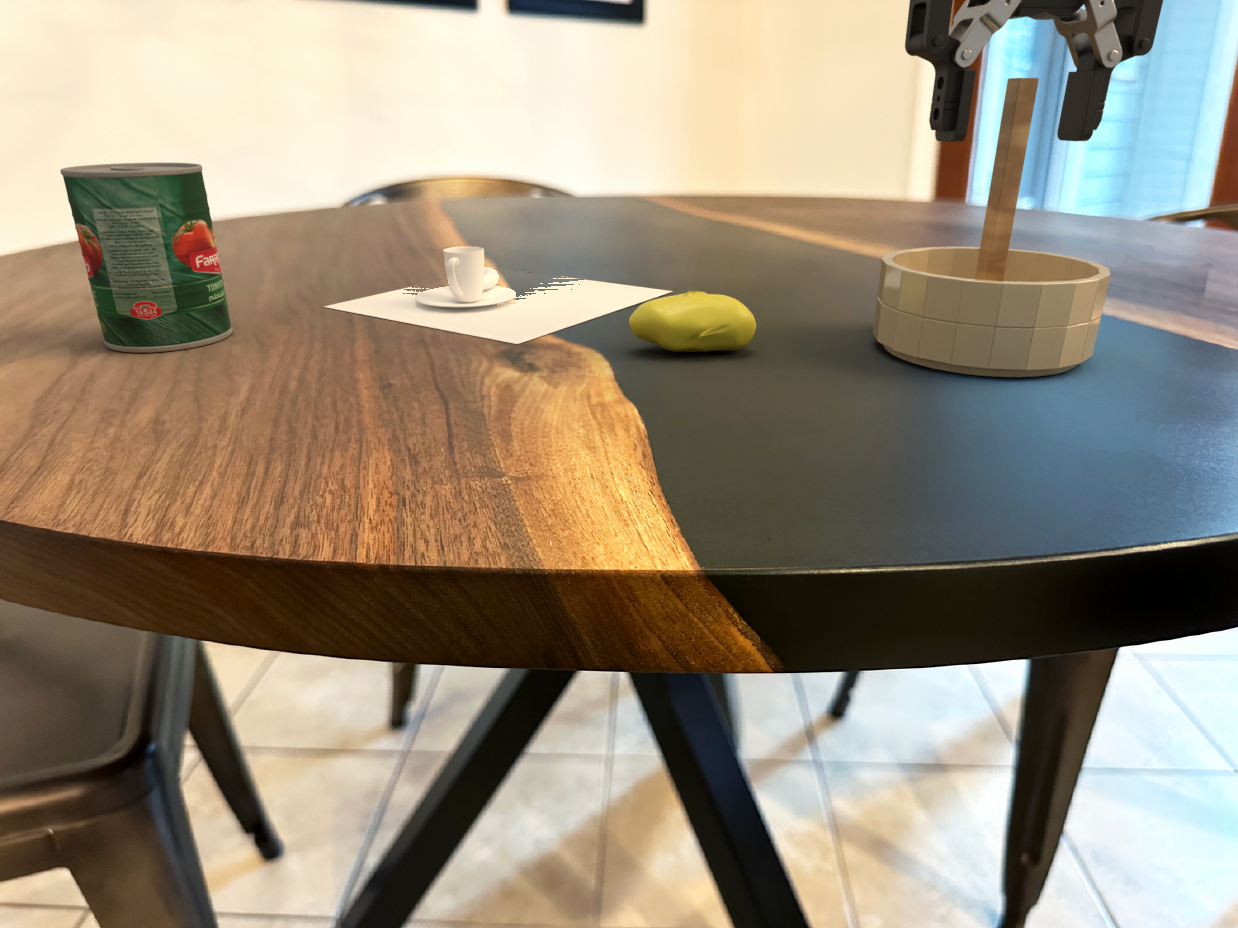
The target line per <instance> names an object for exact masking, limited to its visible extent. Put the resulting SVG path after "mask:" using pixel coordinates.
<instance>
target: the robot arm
mask: <svg viewBox="0 0 1238 928" xmlns="http://www.w3.org/2000/svg"><path fill="white" fill-rule="evenodd" d="M953 4H954V0H909V5H908V14H907V22H906V31H905V41H904V49H905V52H906V53H907V54H908V55H909V56H911V57H918V58H920V59H922V60H925V61H927V62H928V63H930V64H931V66H932V67H933V68H934V80H933V81H934V82H933V89H932V97H931V104H930V112H929V119H928V121H929V122H928V123H929V126H930V130H931V131H935V132H934V137H935V140H936V141H937V142H944V143H962V142H964V141H965V139H966V137H967V134H968V127H969V121H970V115H971V107H972V101H973V95H974V88H975V81H976V73H977V69H970V67H971V66H972V65H973V64H974V62H975V61H976V60H977V58H978V57H979V55H980V54H981V53H982V51H983V50H984V48H985V47H986V45H987V44H988V42H989V41H990V39H991V38H992V37H993V35H994V34H995V33H996V32H998V31H1000V30H1001V29H1002V28H1003V27H1004V26H1005V25H1006V23H1007V22H1008V20H1014V19H1021V18H1030V19H1032V20H1035V21H1049V20H1053V24H1054V26H1055V30H1056V31H1057V33H1058V34H1059V36H1062V37H1063V38H1064V39H1065V42H1066V44H1067V47H1068V50H1069V53H1070V57H1071V59H1072V61H1073V65H1074V67H1075V68H1076V71H1068V73H1067V74H1068V75H1067V79H1066V84H1065V90H1064V95H1063V101H1062V106H1061V111H1060V116H1059V121H1058V126H1057V131H1056V133H1057V134H1056V135H1057V139H1058V140H1059V141H1062V142H1063V141H1064V142H1088V141H1090V139H1091V138H1092V137H1093V134H1094V131H1097V130H1098V128H1099V126H1100V124H1101V122H1102V120H1103V114H1104V109H1105V105H1106V100H1107V96H1108V91H1109V87H1110V82H1111V77H1112V73H1113V72H1114V69H1115V68H1116V67H1117V66H1118V65H1119V64H1120V63H1122V62H1125V61H1127V60H1131V59H1132V58H1135V57H1143V56H1145V55H1147V54H1148V53H1150V51H1151V50H1152V48H1153V46H1154V42H1155V38H1156V34H1157V29H1158V25H1159V20H1160V16H1161V12H1162V8H1163V4H1164V0H965V1H963V3H962V4H961V6H960V8H959V9H958V11H957V12H956V14H955V15H954V17H953V24H952V26H951V21H952V19H951V18H952V11H953ZM1083 6H1084V8H1085V9H1084V8H1082V7H1083Z"/></svg>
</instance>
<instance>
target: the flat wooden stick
mask: <svg viewBox="0 0 1238 928" xmlns="http://www.w3.org/2000/svg"><path fill="white" fill-rule="evenodd" d="M1039 80H1040V79H1039V77H1012V78H1009V77H1008V78H1007V81H1006V89H1005V95H1004V100H1003V106H1002V112H1001V118H1000V124H999V131H998V137H997V143H996V148H995V154H994V160H993V166H992V172H991V179H990V186H989V192H988V198H987V204H986V209H985V211H986V212H985V215H984V221H983V229H982V234H981V238H980V239H981V240H980V246H979V247H980V251H979V258H978V264H977V270H976V276H975V279H979V280H992V281H1003V278H1004V272H1005V266H1006V261H1007V255H1008V250H1009V249H1010V243H1011V237H1012V232H1013V227H1014V223H1015V222H1014V221H1015V215H1016V210H1017V205H1018V199H1019V193H1020V188H1021V183H1022V182H1021V181H1022V177H1023V176H1022V175H1023V171H1024V164H1025V159H1026V153H1027V147H1028V142H1029V137H1030V132H1031V126H1032V120H1033V115H1034V109H1035V108H1034V107H1035V102H1036V97H1037V92H1038V85H1039Z"/></svg>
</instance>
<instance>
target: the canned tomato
mask: <svg viewBox="0 0 1238 928" xmlns="http://www.w3.org/2000/svg"><path fill="white" fill-rule="evenodd" d="M59 171H60V175H61V176H62V179H63V182H64V186H65V191H66V195H67V200H68V203H69V206H70V210H71V216H72V218H73V222H74V228H75V230H76V234H77V238H78V243H79V246H80V250H81V255H82V258H83V261H84V262H83V263H84V267H85V271H86V274H87V279H88V282H89V285H90V290H91V291H90V292H91V294H92V297H93V302H94V305H95V306H94V307H95V309H96V314H97V318H98V321H99V326H100V328H101V332H102V336H103V344H104V346H105V347H106V348H108V349H109V350H112V351H115V352H123V353H133V354H134V353H135V354H146V353H147V354H149V353H165V352H175V351H182V350H188V349H194V348H199V347H204V346H207V345H211V344H214V343H217V342H220V341H223V340H225V339H227V338H228V337H230V336H231V335H232V334H233V332H234V328H233V325H232V322H231V315H230V310H229V303H228V301H227V300H228V299H227V295H226V294H227V293H226V290H225V285H224V279H223V274H222V268H221V264H220V256H219V253H218V248H217V247H218V246H217V242H216V238H215V231H214V227H213V220H212V217H211V209H210V205H209V201H208V194H207V190H206V185H205V180H204V176H203V166H202V165H201V164H200V163H191V162H125V163H124V162H123V163H121V162H120V163H104V164H103V163H101V164H85V165H75V166H69V167H64V168H61V169H60V170H59Z"/></svg>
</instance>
